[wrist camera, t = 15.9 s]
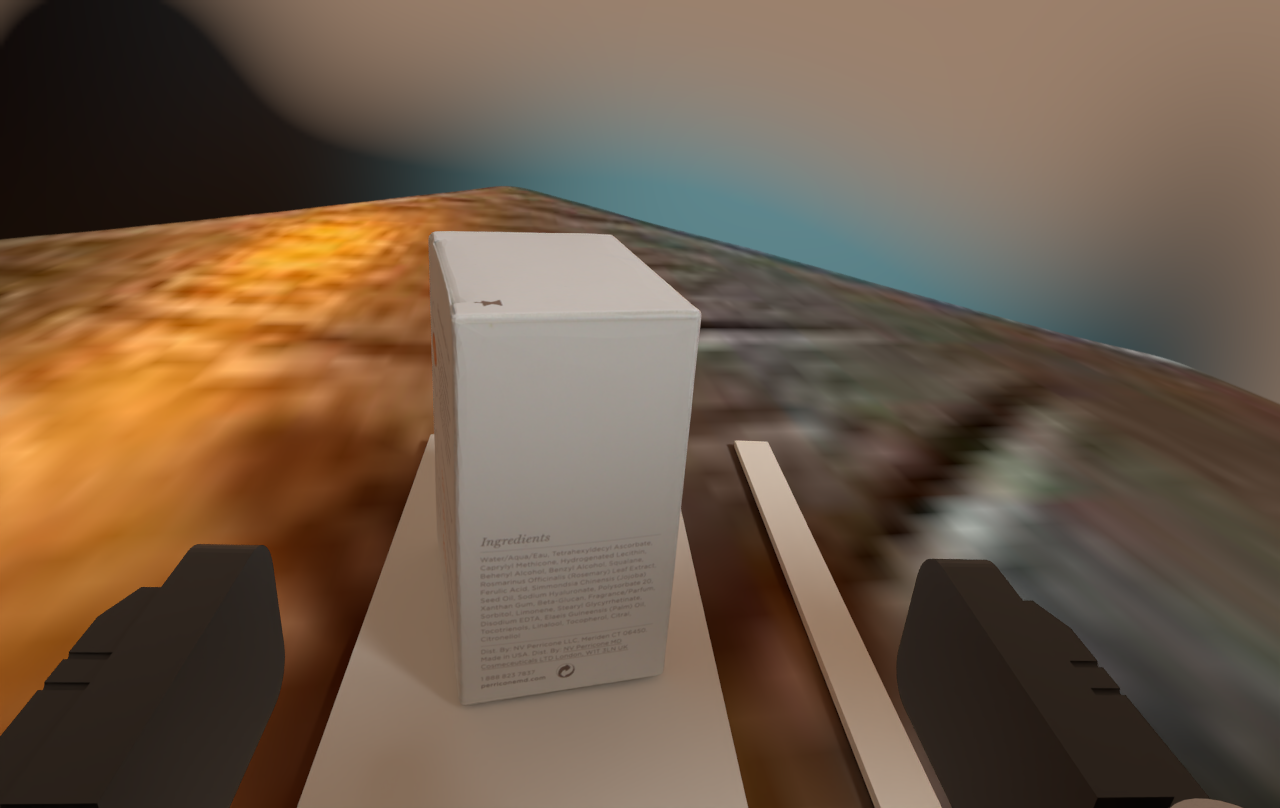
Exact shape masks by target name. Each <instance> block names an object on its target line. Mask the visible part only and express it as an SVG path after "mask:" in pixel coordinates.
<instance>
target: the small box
mask: <svg viewBox="0 0 1280 808" xmlns="http://www.w3.org/2000/svg"><path fill="white" fill-rule="evenodd" d="M429 270H430V306H431V342H432V376H433V408H434V442H435V484H436V518H437V539H438V544H439V550H440V558H441V565H442V573H443V580H444V588H445V595H446V603H447V610H448V617H449V625H450V632H451V639H452V647H453V654H454V662H455V670H456V678H457V687H458V698H459V701H460V703H461V704H462V705H471V704H478V703H484V702H490V701H496V700H503V699H509V698H516V697H522V696H529V695H536V694H542V693H549V692H554V691H560V690H567V689H574V688H580V687H587V686H593V685H600V684H607V683H613V682H619V681H626V680H632V679H638V678H645V677H651V676H657V675H660V674H662V673H663V670H664V662H665V652H666V643H667V635H668V626H669V617H670V607H671V597H672V588H673V579H674V570H675V560H676V549H677V539H678V531H679V520H680V512H681V502H682V493H683V483H684V473H685V464H686V454H687V444H688V435H689V426H690V417H691V407H692V396H693V387H694V377H695V368H696V359H697V350H698V340H699V331H700V323H701V312H700V310H698V309H697V308H695V307H694V306H693V305H692V304H691V303H690V302H688V301H687V300H686V299H685V298H684V297H683V296H682V295H680V294H679V293H678V292H677V291H676V290H674V289H673V288H672V287H671V286H670V285H669V284H668V283H667V282H665V281H664V280H663V279H662V278H661V277H659V276H658V275H657V274H656V273H655V272H654V271H653V270H651V269H650V268H649V267H648V266H647V265H646V264H645V263H643V262H642V261H641V260H640V259H639V258H638V257H637V256H635V255H634V254H633V253H632V252H631V251H630V250H628V249H627V248H626V247H625V246H624V245H623V244H622V243H621V242H620V241H618V240H617V239H616V238H615V237H614V236H613V235H603V234H579V233H517V232H457V231H438V232H432V233H431V235H430V236H429Z"/></svg>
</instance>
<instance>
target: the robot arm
mask: <svg viewBox="0 0 1280 808" xmlns="http://www.w3.org/2000/svg"><path fill="white" fill-rule="evenodd" d="M284 663H285V650H284V641H283V634H282V626H281V619H280V612H279V605H278V598H277V591H276V583H275V576H274V569H273V562H272V558H271V554H270V552H269V550H268V548H267V547H266V546H264V545H218V544H197V545H194V546H193V547H192V548H190V550H189V551H188V552H187V553H186V555H185V556H184V557H183V559H182V560H181V561H180V563H179V564H178V565H177V567H176V568H175V569H174V571H173V572H172V573H171V575H170V576H169V577H168V579H167V580H166V581H165V583H164V584H163V585H162V587H141V588H139V589H138V590H136V591H135V592H133V593H132V594H131V595H129V596H128V597H126V598H125V599H123V600H122V601H120V602H119V603H117V604H116V605H114V606H113V607H111V608H110V609H108V610H107V611H105V612H104V613H103V614H101V615H100V616H98V617H97V618H96V620H95V621H94V622H93V623H92V624H91V626H90V627H89V628H88V629H87V631H86V632H85V633H84V634H83V635H82V637H81V638H80V639H79V640H78V642H77V643H76V644H75V645H74V647H73V648H72V649H71V650H70V651H69V657H68V659H63V660H62V661H61V663H60V664H59V665H58V666H57V667H56V669H55V670H54V671H53V672H52V674H51V675H50V676H49V677H48V678H47V680H46V681H45V682H44V683H45V685H44V689H43V690H38V691H37V692H36V693H35V694H34V696H33V697H32V698H31V699H30V701H29V702H28V703H27V704H26V705H25V707H24V708H23V709H22V710H21V712H20V713H19V714H18V715H17V717H16V718H15V719H14V720H13V721H12V723H11V724H10V725H9V726H8V728H7V729H6V730H5V731H4V733H3V734H2V735H1V736H0V808H229V807H230V805H231V803H232V801H233V798H234V796H235V794H236V792H237V789H238V787H239V785H240V783H241V780H242V778H243V776H244V774H245V771H246V769H247V767H248V765H249V762H250V760H251V758H252V756H253V754H254V751H255V749H256V747H257V745H258V742H259V740H260V738H261V736H262V733H263V731H264V729H265V727H266V724H267V722H268V720H269V718H270V715H271V713H272V711H273V709H274V707H275V704H276V702H277V699H278V696H279V693H280V689H281V685H282V680H283V673H284ZM897 683H898V689H899V693H900V697H901V700H902V703H903V705H904V708H905V710H906V712H907V714H908V716H909V718H910V720H911V722H912V725H913V727H914V729H915V731H916V733H917V735H918V737H919V739H920V741H921V743H922V745H923V747H924V750H925V752H926V754H927V756H928V758H929V760H930V762H931V764H932V766H933V768H934V770H935V772H936V775H937V777H938V779H939V781H940V783H941V785H942V787H943V789H944V791H945V793H946V795H947V798H948V800H949V802H950V804H951V806H952V808H1242V807H1239V806H1237V805H1234V804H1230V803H1226V802H1223V801H1218V800H1212V799H1210V798H1209V796H1208V795H1207V794H1206V793H1205V792H1204V790H1203V789H1202V788H1201V787H1200V785H1199V784H1198V783H1197V782H1196V781H1195V779H1194V778H1193V777H1192V776H1191V774H1190V773H1189V772H1188V771H1187V770H1186V768H1185V767H1184V766H1183V765H1182V764H1181V762H1180V761H1179V760H1178V759H1177V757H1176V756H1175V755H1174V754H1173V753H1172V751H1171V750H1170V749H1169V748H1168V746H1167V745H1166V744H1165V743H1164V742H1163V740H1162V739H1161V738H1160V737H1159V735H1158V734H1157V733H1156V732H1155V731H1154V729H1153V728H1152V727H1151V726H1150V724H1149V723H1148V722H1147V721H1146V720H1145V718H1144V717H1143V716H1142V715H1141V713H1140V712H1139V711H1138V710H1137V709H1136V707H1135V706H1134V705H1133V704H1132V702H1131V701H1130V700H1129V699H1128V698H1127V696H1126V695H1121V694H1120V691H1119V690H1120V688H1119V687H1118V685H1117V684H1116V683H1115V682H1114V680H1113V679H1112V678H1111V677H1110V676H1109V674H1108V673H1107V672H1106V671H1105V670H1104V668H1102V667H1098V665H1097V660H1096V659H1095V657H1094V656H1093V655H1092V654H1091V652H1090V651H1089V650H1088V649H1087V648H1086V646H1085V645H1084V644H1083V643H1082V641H1081V640H1080V639H1079V638H1078V637H1077V635H1076V634H1075V633H1074V632H1073V630H1072V629H1071V628H1069V627H1068V626H1067V625H1065V624H1064V623H1063V622H1061V621H1060V620H1058V619H1057V618H1056V617H1054V616H1053V615H1052V614H1050V613H1049V612H1047V611H1046V610H1045V609H1043V608H1042V607H1040V606H1039V605H1038V604H1036V603H1035V602H1034V601H1023V600H1022V599H1021V598H1020V596H1019V595H1018V594H1017V593H1016V591H1015V590H1014V589H1013V587H1012V586H1011V585H1010V584H1009V582H1008V581H1007V580H1006V578H1005V577H1004V576H1003V575H1002V573H1001V572H1000V571H999V569H998V568H997V567H996V566H995V565H994V564H993V563H992V562H990V561H988V560H963V559H928V560H926V561H925V562H924V563H923V564H922V565H921V567H920V569H919V572H918V575H917V579H916V583H915V587H914V591H913V595H912V599H911V603H910V607H909V611H908V615H907V619H906V623H905V627H904V631H903V635H902V639H901V643H900V647H899V650H898V655H897Z"/></svg>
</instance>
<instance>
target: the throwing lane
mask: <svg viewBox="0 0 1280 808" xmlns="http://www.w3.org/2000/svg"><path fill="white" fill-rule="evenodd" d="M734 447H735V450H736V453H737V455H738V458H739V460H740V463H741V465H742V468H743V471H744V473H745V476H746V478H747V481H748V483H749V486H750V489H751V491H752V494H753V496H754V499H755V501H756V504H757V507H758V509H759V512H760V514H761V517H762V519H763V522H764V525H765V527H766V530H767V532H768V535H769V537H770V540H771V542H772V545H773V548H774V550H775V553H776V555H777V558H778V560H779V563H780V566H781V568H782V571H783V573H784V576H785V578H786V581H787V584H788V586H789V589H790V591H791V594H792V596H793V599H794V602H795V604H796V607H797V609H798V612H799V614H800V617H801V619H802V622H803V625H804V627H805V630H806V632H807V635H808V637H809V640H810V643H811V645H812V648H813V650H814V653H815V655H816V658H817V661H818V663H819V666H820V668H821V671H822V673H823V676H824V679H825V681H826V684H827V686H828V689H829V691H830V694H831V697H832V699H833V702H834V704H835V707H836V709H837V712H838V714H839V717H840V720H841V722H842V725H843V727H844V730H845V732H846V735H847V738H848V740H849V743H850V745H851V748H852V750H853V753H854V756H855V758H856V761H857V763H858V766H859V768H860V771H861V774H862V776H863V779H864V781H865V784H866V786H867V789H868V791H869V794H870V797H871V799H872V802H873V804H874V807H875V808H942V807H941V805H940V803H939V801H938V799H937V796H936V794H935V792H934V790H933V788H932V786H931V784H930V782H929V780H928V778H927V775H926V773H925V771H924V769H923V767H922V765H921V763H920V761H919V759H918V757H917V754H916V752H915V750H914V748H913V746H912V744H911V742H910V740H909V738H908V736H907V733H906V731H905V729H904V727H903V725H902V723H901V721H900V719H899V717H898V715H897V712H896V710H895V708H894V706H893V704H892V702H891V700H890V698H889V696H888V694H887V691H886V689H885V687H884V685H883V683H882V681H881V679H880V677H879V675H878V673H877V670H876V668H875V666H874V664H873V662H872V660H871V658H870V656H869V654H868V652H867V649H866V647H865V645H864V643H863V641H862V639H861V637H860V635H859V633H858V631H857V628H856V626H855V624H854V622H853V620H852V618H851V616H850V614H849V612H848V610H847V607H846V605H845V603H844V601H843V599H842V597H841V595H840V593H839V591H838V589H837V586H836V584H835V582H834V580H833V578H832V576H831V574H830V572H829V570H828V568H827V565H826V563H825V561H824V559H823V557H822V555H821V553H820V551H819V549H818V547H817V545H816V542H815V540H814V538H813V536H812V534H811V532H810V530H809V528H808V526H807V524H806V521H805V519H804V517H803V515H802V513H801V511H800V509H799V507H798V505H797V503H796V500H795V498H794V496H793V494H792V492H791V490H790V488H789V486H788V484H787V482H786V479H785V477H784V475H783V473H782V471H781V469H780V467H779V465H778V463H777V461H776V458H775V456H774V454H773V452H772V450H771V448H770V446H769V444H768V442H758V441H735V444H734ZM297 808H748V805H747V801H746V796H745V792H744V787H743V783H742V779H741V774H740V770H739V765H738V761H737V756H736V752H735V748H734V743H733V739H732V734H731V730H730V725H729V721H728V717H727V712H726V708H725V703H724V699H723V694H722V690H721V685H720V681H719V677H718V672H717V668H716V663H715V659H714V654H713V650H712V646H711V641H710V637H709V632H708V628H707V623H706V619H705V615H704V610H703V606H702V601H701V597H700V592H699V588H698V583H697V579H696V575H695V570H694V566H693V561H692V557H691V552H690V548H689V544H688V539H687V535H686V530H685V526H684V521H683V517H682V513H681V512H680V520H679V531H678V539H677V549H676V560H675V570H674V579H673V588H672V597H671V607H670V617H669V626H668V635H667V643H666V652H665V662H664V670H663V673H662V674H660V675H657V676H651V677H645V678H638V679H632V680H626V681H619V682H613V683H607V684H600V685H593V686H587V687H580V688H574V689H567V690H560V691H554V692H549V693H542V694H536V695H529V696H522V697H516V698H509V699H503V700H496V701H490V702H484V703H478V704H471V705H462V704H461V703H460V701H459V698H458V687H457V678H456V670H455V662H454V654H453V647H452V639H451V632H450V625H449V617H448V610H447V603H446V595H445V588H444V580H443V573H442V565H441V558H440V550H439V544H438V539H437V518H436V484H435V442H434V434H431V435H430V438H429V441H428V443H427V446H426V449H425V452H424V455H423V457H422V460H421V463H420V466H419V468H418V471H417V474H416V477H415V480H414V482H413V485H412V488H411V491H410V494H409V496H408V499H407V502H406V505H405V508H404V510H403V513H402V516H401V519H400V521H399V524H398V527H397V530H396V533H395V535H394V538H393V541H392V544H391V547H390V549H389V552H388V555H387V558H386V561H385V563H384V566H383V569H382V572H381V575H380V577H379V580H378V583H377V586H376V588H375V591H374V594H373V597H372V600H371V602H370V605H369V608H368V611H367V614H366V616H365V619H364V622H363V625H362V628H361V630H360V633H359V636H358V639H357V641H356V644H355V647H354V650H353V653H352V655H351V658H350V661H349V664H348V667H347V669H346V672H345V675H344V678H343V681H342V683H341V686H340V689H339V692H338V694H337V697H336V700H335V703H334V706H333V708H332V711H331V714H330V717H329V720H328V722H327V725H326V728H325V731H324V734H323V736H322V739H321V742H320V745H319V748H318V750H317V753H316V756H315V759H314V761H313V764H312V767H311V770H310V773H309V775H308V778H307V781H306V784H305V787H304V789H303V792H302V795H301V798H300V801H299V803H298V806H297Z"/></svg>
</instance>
